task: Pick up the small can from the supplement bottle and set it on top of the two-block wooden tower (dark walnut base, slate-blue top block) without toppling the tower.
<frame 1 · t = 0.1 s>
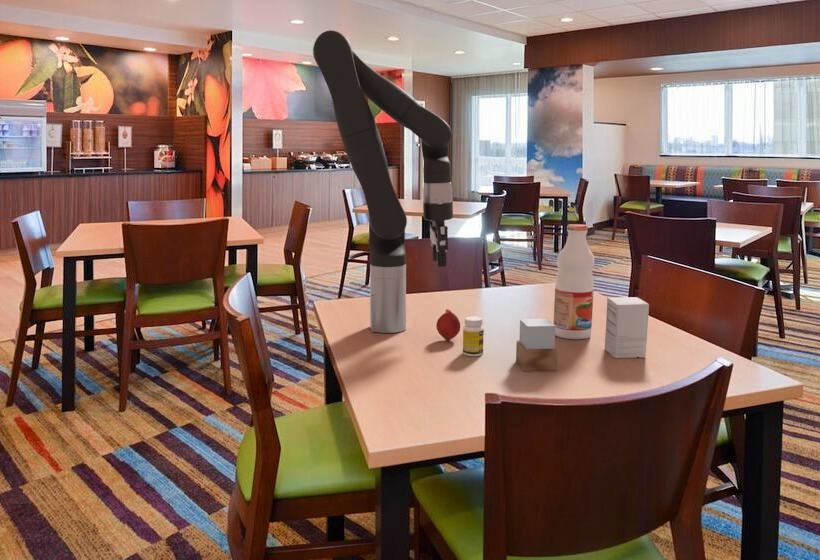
hand: (439, 263, 173), 17 cm above the table, tool pointing down, fingers open, 8 cm apart
fruit juice: (571, 335, 170), on the table
onion: (448, 341, 165), on the table
bottom block: (535, 366, 146), on the table, touching top block
supplement bottle: (472, 354, 154), on the table
top block: (536, 344, 144), point 5 cm above the table, touching bottom block
supplement box: (624, 354, 155), on the table
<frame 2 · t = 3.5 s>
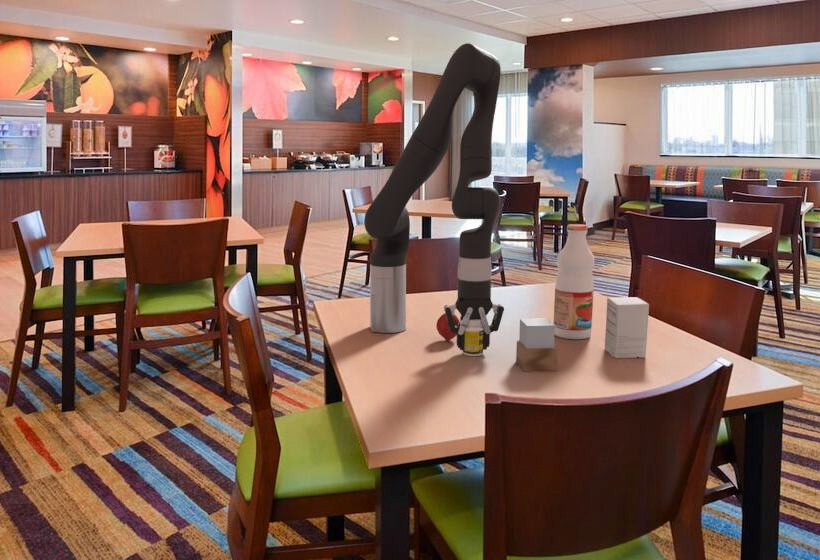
hand: (473, 348, 154), 1 cm above the table, tool pointing down, fingers closed on supplement bottle, 4 cm apart
supplement bottle: (472, 354, 154), on the table, touching gripper
everything else where it was.
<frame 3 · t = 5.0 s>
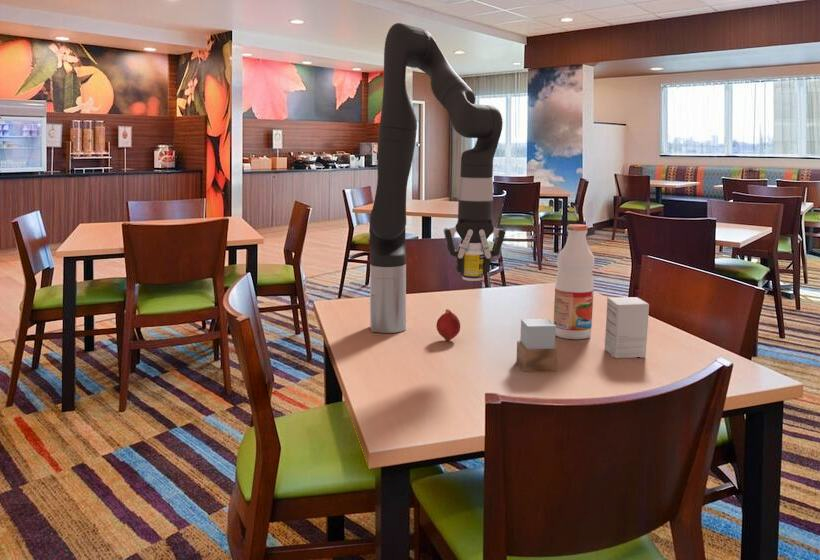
hand: (472, 273, 150), 19 cm above the table, tool pointing down, fingers closed on supplement bottle, 4 cm apart
supplement bottle: (472, 280, 151), point 17 cm above the table, touching gripper
everything else where it was.
when the fingers open (12 cm above the table, at t = 7.6 s): supplement bottle drops 1 cm, resting on top block.
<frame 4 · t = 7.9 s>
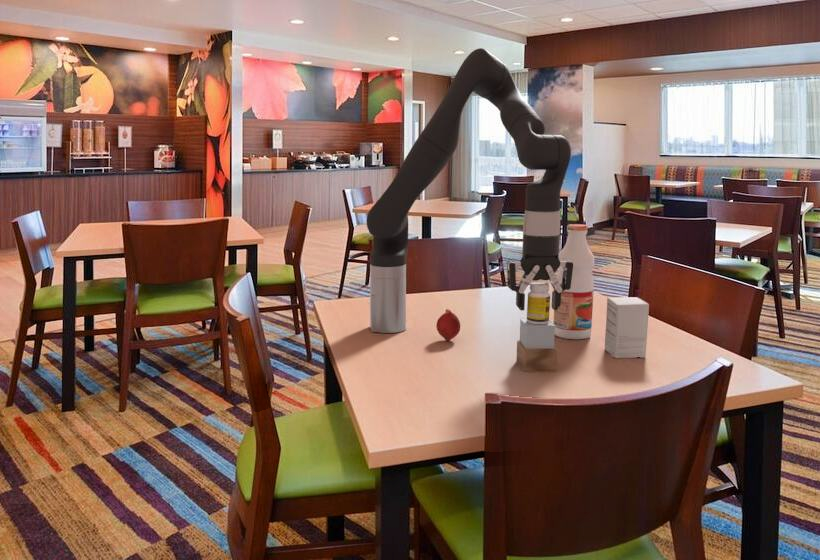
hand: (538, 309, 143), 13 cm above the table, tool pointing down, fingers open, 6 cm apart
supplement bottle: (537, 323, 144), point 10 cm above the table, touching top block
top block: (536, 344, 145), point 5 cm above the table, touching supplement bottle, bottom block
everything else where it was.
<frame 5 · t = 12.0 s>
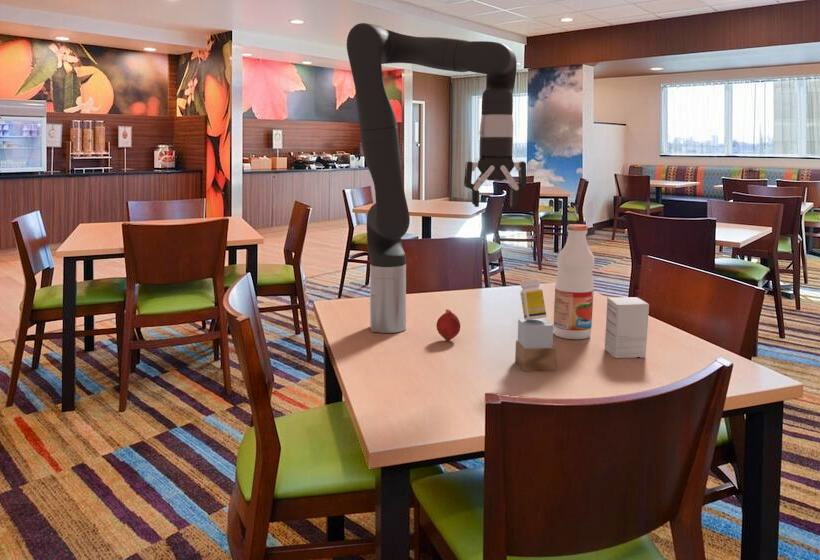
hand: (494, 206, 156), 33 cm above the table, tool pointing down, fingers open, 8 cm apart
at the end: supplement bottle 0.1 cm off-centre on the top block, point 5.5 cm above the top block's base; top block 0.3 cm off-centre on the bottom block, point 5.0 cm above the bottom block's base; supplement bottle tilted 17° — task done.
